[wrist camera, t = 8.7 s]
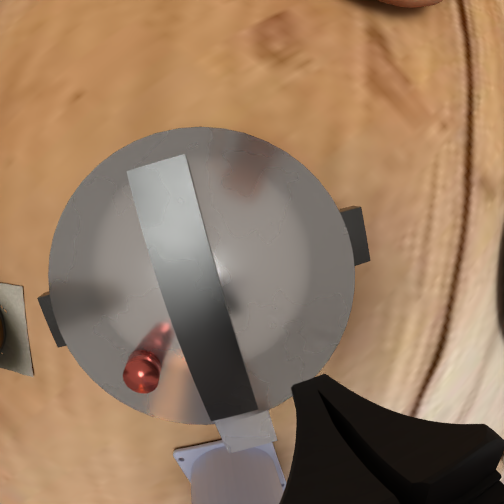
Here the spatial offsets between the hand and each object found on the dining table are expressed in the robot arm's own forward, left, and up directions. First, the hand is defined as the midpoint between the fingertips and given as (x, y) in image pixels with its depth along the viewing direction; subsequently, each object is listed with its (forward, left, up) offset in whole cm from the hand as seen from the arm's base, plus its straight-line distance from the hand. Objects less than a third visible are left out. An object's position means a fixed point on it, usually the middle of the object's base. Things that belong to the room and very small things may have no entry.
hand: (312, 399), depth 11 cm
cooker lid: (+3, +3, -5) cm, 6 cm away
